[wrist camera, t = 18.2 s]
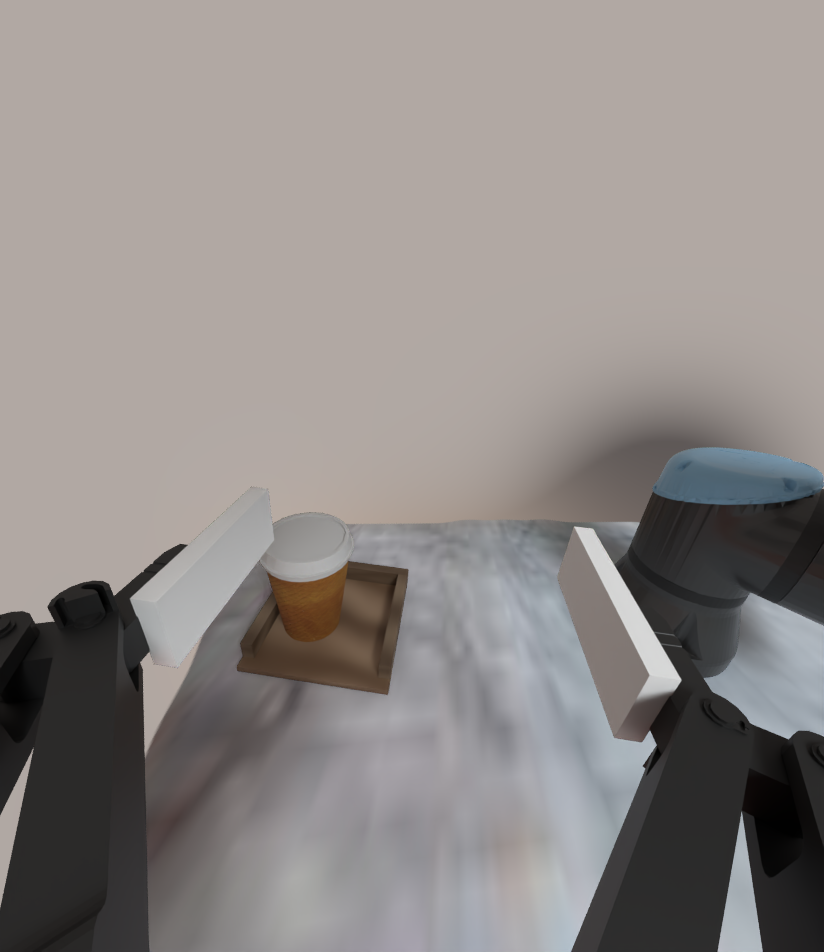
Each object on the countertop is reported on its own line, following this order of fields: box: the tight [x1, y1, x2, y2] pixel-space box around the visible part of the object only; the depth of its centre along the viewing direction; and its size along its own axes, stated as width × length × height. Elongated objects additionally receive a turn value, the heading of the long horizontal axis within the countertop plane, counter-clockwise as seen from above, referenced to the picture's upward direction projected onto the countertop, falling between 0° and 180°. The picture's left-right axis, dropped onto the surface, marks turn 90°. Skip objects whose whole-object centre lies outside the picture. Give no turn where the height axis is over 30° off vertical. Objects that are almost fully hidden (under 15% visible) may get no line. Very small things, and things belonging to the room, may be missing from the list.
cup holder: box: [237, 561, 408, 695], centre depth 42 cm, size 15×15×3 cm
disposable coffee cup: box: [259, 512, 354, 642], centre depth 40 cm, size 10×10×12 cm
